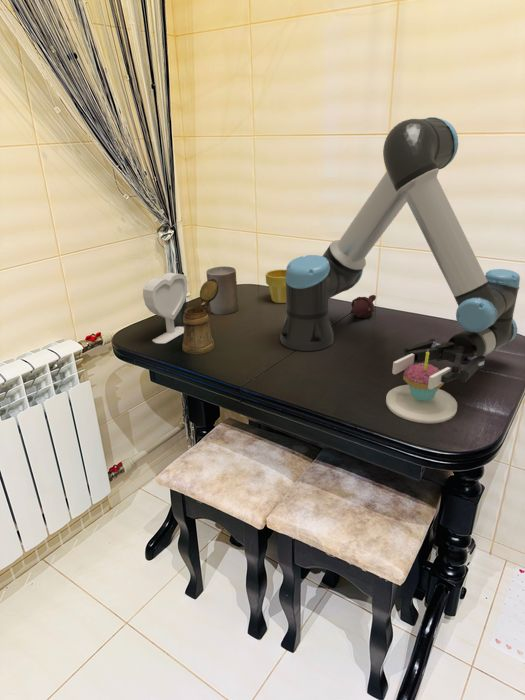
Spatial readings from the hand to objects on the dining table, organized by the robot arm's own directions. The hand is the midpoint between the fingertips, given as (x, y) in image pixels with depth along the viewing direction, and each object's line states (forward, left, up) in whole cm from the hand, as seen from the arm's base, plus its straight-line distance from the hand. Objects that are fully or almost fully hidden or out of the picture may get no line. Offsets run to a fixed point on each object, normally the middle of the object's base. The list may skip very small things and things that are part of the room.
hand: (411, 375), depth 105 cm
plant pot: (-55, +56, -9) cm, 79 cm away
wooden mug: (-60, +13, -9) cm, 62 cm away
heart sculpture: (-73, +16, -9) cm, 75 cm away
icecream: (-25, +51, -9) cm, 57 cm away
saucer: (+2, +4, -9) cm, 10 cm away
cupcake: (+2, +4, -7) cm, 8 cm away
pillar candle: (-69, +40, -9) cm, 80 cm away
